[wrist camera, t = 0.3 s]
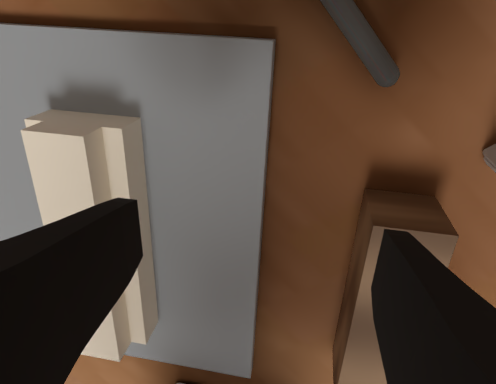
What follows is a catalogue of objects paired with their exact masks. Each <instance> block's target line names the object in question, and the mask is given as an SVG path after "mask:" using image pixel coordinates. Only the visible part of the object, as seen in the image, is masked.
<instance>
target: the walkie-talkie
mask: <svg viewBox="0 0 496 384" xmlns="http://www.w3.org/2000/svg"><path fill="white" fill-rule="evenodd" d="M320 1H321V2H322V4H323V5H324V7H325V8H326V10H327V11H328V13H329V14H330V16H331V17H332V18H333V20H334V21H335V23H336V24H337V26H338V27H339V29H340V30H341V32H342V33H343V34H344V36H345V37H346V39H347V40H348V42H349V43H350V45H351V46H352V48H353V49H354V50H355V52H356V53H357V55H358V56H359V58H360V59H361V61H362V62H363V64H364V65H365V66H366V68H367V69H368V71H369V72H370V74H371V75H372V77H373V78H374V80H375V81H376V82H377V84H378V85H380V86H382V87H389V86H392V85H394V84H395V83H396V82H397V80H398V78H399V75H400V72H399V68H398V67H397V65H396V64H395V62H394V61H393V59H392V58H391V56H390V55H389V53H388V52H387V50H386V49H385V47H384V46H383V44H382V43H381V41H380V40H379V38H378V37H377V35H376V34H375V32H374V31H373V29H372V28H371V26H370V25H369V23H368V22H367V20H366V19H365V17H364V16H363V14H362V13H361V11H360V10H359V8H358V7H357V5H356V4H355V2H354V1H353V0H320Z"/></svg>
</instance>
